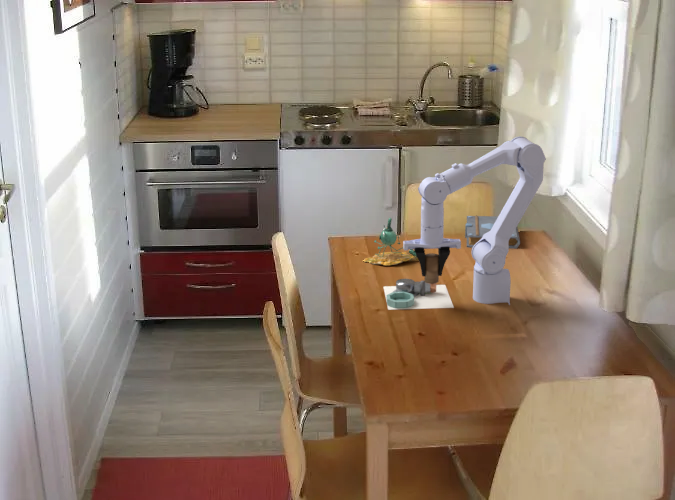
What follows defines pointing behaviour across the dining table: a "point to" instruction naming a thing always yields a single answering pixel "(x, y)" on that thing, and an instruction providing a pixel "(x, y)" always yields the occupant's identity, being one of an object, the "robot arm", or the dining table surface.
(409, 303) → the socket
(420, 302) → the board
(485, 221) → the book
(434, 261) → the pin
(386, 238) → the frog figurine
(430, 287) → the grey ball-ended lever
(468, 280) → the dining table surface
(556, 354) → the dining table surface
